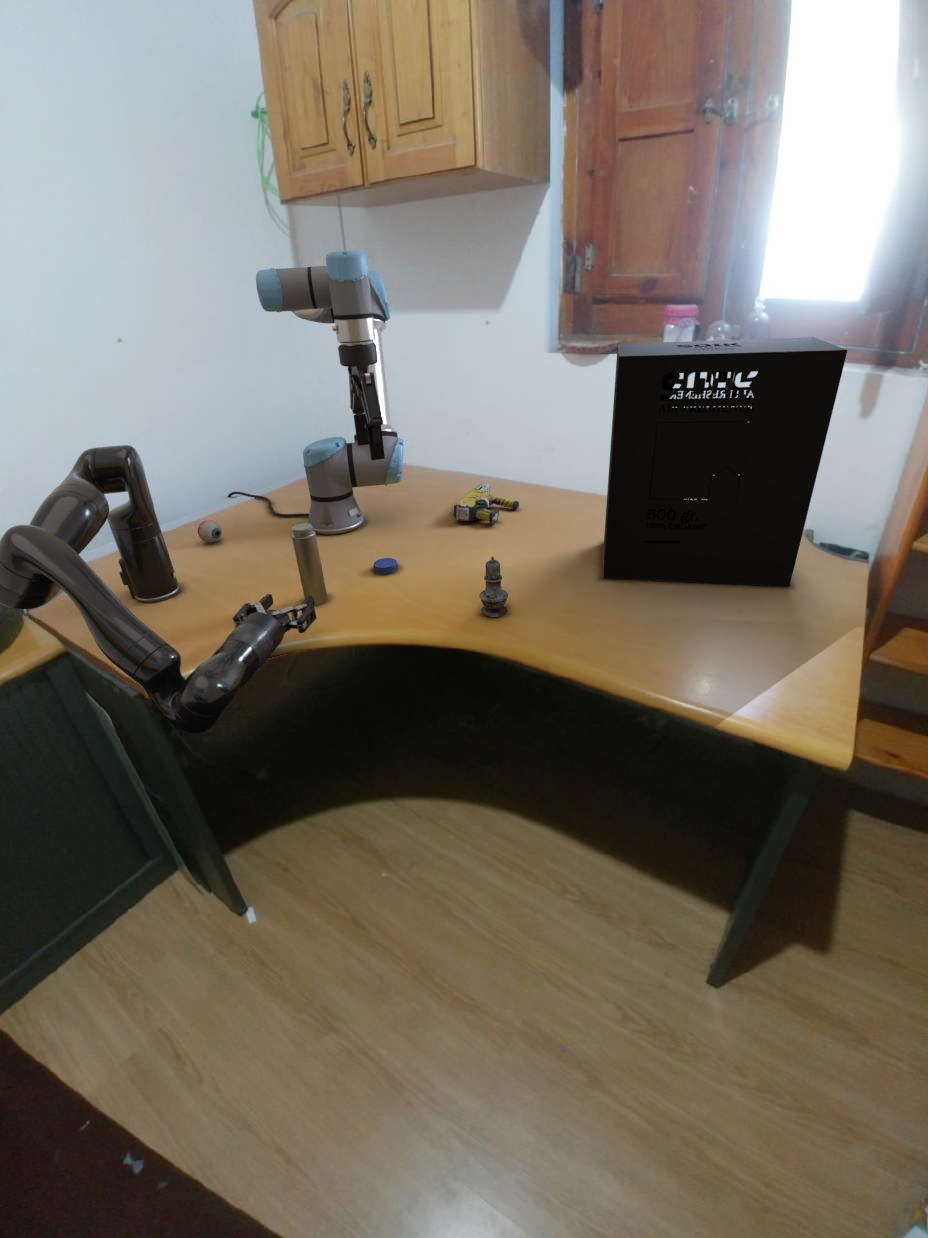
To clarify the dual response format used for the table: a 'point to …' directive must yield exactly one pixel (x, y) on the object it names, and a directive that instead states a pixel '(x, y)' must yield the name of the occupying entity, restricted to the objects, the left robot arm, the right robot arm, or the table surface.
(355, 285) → the right robot arm
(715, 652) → the table surface
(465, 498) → the toy gun
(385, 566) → the lid
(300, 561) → the jar
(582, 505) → the table surface
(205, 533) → the eyeball
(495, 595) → the dark grey tiered cylinder
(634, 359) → the cardboard box
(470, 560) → the table surface
